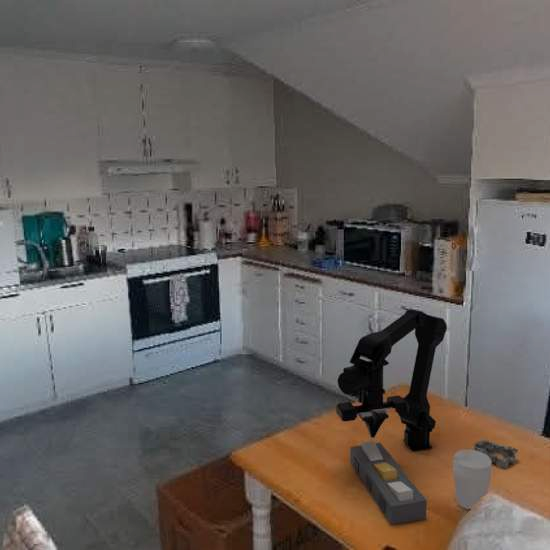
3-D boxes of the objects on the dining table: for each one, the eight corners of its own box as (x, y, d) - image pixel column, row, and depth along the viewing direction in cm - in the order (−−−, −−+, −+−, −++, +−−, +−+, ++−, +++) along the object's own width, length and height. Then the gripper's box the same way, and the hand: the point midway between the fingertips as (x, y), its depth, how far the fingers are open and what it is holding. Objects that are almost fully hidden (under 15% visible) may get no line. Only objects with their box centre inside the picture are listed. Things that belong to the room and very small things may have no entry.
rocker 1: (373, 446, 158) (373, 440, 157) (382, 465, 152) (383, 458, 150) (360, 448, 157) (361, 442, 156) (370, 467, 151) (370, 460, 150)
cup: (446, 493, 143) (447, 450, 141) (480, 490, 144) (482, 448, 141) (460, 515, 135) (462, 470, 132) (496, 512, 135) (499, 467, 133)
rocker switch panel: (380, 458, 160) (380, 442, 159) (426, 518, 134) (426, 500, 133) (349, 463, 159) (349, 447, 158) (390, 525, 132) (390, 506, 131)
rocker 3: (401, 490, 140) (400, 480, 140) (413, 499, 133) (412, 489, 133) (387, 492, 140) (386, 483, 140) (399, 501, 133) (398, 492, 133)
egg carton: (519, 463, 156) (520, 449, 155) (501, 471, 152) (502, 458, 152) (486, 446, 165) (487, 434, 164) (469, 454, 161) (470, 441, 160)
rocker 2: (386, 470, 149) (385, 462, 149) (397, 478, 142) (396, 469, 142) (374, 472, 148) (373, 464, 148) (384, 480, 141) (383, 471, 141)
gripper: (392, 368, 159) (392, 419, 162) (329, 376, 155) (330, 427, 158) (409, 383, 148) (409, 437, 152) (342, 392, 144) (343, 447, 148)
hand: (372, 436), depth 153 cm, fingers closed
